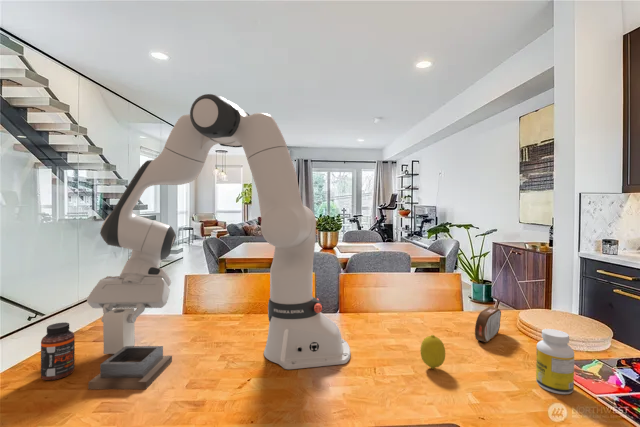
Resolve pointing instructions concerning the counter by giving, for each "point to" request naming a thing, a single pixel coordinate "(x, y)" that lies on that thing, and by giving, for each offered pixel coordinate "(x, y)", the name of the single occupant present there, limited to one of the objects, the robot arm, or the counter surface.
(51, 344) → the supplement bottle
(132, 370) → the socket collar
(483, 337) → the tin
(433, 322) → the counter surface
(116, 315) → the nylon bushing block
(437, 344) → the lemon
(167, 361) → the walnut jig board
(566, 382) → the pill bottle
